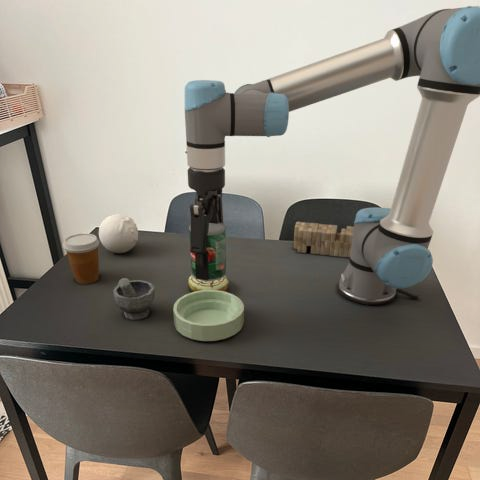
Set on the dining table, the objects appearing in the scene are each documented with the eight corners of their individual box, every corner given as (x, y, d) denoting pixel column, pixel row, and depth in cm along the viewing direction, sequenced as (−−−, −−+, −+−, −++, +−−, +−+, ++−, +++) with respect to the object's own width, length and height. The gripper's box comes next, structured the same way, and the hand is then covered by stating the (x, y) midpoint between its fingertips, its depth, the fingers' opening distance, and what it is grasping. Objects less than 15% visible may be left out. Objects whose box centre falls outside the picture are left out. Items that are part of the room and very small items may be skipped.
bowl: (250, 312, 118) (251, 295, 115) (232, 349, 104) (232, 330, 101) (189, 303, 121) (188, 286, 119) (163, 337, 108) (162, 319, 105)
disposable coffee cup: (63, 284, 130) (54, 244, 123) (81, 269, 137) (74, 231, 131) (94, 288, 128) (87, 247, 121) (110, 273, 136) (104, 234, 129)
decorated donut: (212, 302, 122) (211, 289, 120) (181, 291, 127) (180, 278, 125) (235, 287, 129) (235, 275, 127) (205, 276, 134) (204, 265, 132)
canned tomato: (228, 266, 108) (228, 221, 103) (223, 282, 102) (223, 234, 96) (194, 264, 109) (192, 219, 103) (187, 280, 102) (185, 232, 97)
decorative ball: (130, 261, 143) (125, 224, 136) (94, 257, 145) (88, 220, 139) (146, 246, 153) (142, 210, 146) (112, 242, 155) (107, 207, 149)
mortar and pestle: (125, 302, 121) (120, 260, 115) (160, 305, 120) (156, 262, 114) (109, 325, 112) (102, 280, 106) (146, 328, 111) (141, 283, 105)
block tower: (292, 254, 150) (385, 261, 144) (293, 229, 146) (389, 236, 140) (295, 245, 157) (385, 251, 151) (296, 221, 152) (389, 226, 146)
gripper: (205, 154, 102) (207, 250, 114) (168, 179, 85) (175, 288, 97) (238, 157, 101) (237, 254, 113) (207, 182, 84) (209, 294, 96)
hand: (208, 270), depth 105 cm, fingers closed on canned tomato, 8 cm apart
